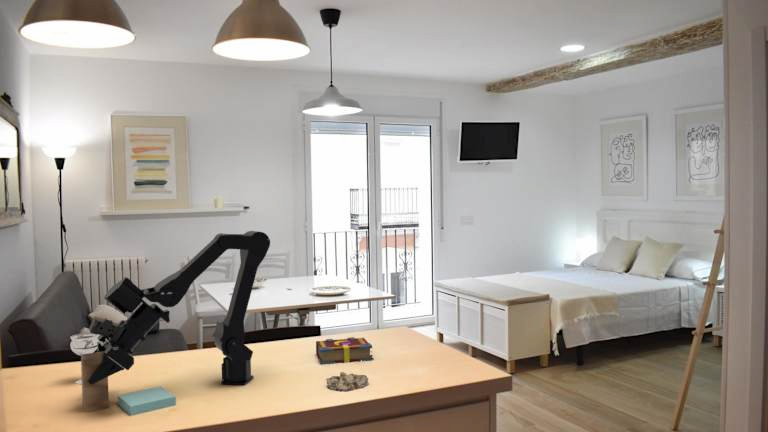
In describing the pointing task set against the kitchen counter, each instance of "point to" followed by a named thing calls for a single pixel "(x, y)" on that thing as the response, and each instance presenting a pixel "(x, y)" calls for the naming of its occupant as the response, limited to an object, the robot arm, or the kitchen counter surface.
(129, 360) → the robot arm
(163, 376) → the kitchen counter surface
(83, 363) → the walnut post
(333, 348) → the decorative book
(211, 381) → the kitchen counter surface
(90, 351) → the wineglass
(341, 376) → the mineral rock
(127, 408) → the ceramic plinth
